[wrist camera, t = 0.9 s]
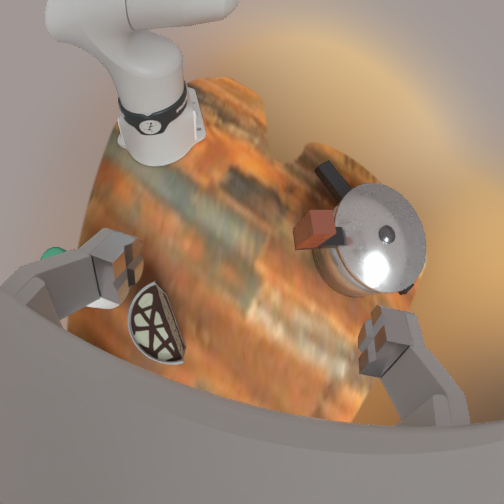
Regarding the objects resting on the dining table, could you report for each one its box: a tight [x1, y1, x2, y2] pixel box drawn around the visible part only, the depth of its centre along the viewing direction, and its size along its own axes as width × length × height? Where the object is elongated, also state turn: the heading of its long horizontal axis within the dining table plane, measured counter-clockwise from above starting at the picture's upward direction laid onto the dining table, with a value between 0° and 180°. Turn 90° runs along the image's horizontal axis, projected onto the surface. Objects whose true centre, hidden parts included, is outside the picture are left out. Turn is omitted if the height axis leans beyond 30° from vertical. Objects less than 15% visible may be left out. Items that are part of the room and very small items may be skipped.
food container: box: [128, 281, 186, 365], centre depth 40 cm, size 12×6×10 cm, turn 21°
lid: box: [293, 183, 426, 294], centre depth 38 cm, size 25×19×8 cm
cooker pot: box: [312, 160, 414, 297], centre depth 48 cm, size 27×18×10 cm
